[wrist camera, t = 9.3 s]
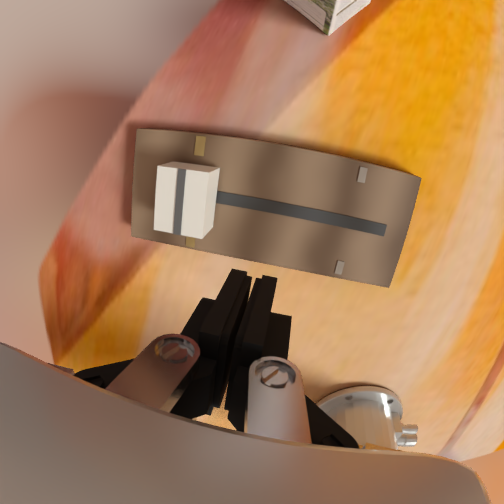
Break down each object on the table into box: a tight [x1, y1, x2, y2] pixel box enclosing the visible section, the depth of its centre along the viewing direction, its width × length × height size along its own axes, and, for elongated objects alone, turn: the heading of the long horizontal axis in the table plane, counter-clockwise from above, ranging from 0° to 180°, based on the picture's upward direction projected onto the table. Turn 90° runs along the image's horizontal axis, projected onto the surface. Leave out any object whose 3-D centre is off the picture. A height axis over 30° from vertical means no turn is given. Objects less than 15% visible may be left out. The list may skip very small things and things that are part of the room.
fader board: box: [131, 128, 421, 288], centre depth 26 cm, size 24×10×2 cm, turn 82°
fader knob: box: [154, 162, 220, 239], centre depth 24 cm, size 4×5×3 cm
